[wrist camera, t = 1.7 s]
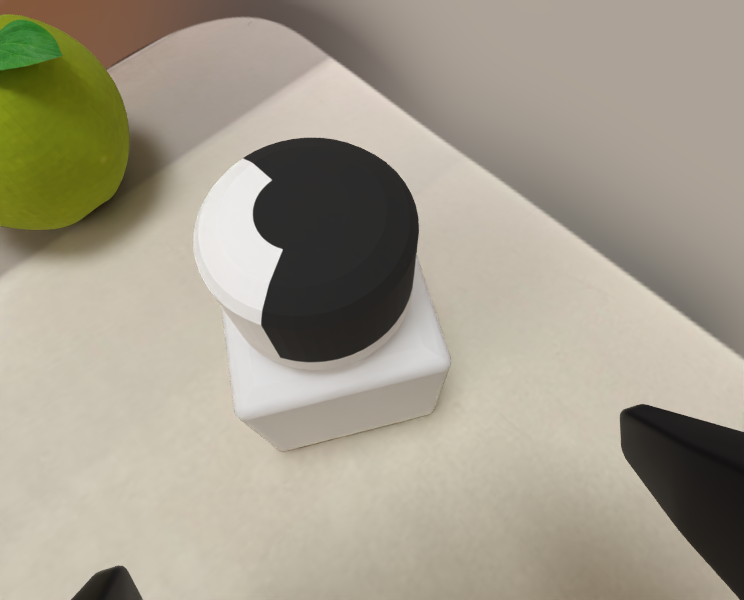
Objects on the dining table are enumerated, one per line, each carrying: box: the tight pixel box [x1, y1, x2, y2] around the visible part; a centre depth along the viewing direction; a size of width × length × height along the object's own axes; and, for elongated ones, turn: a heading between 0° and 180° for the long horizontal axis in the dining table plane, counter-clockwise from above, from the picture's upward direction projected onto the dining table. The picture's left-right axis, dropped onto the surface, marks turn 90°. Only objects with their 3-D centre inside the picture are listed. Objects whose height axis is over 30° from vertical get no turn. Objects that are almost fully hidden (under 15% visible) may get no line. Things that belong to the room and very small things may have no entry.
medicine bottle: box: [193, 138, 451, 451], centre depth 18 cm, size 7×7×12 cm
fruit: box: [0, 15, 129, 230], centre depth 24 cm, size 9×9×10 cm
